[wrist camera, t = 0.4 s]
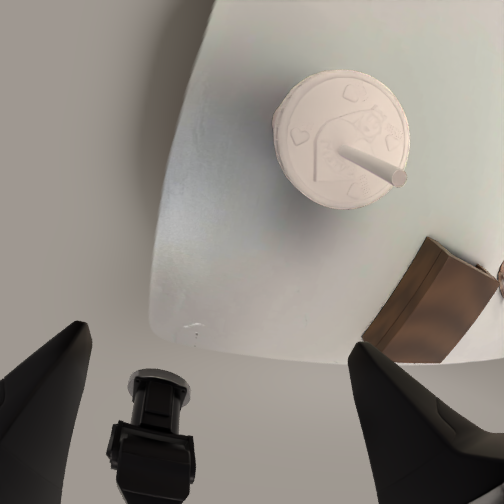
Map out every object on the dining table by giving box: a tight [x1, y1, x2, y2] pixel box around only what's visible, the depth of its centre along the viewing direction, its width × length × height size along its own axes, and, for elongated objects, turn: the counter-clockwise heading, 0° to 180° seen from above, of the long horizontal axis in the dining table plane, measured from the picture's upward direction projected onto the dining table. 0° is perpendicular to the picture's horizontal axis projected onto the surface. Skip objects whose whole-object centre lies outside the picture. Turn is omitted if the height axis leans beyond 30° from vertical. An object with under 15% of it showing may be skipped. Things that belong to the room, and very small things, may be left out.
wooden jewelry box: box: [362, 237, 500, 363], centre depth 28 cm, size 14×14×4 cm
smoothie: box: [272, 70, 410, 210], centre depth 13 cm, size 6×6×14 cm
